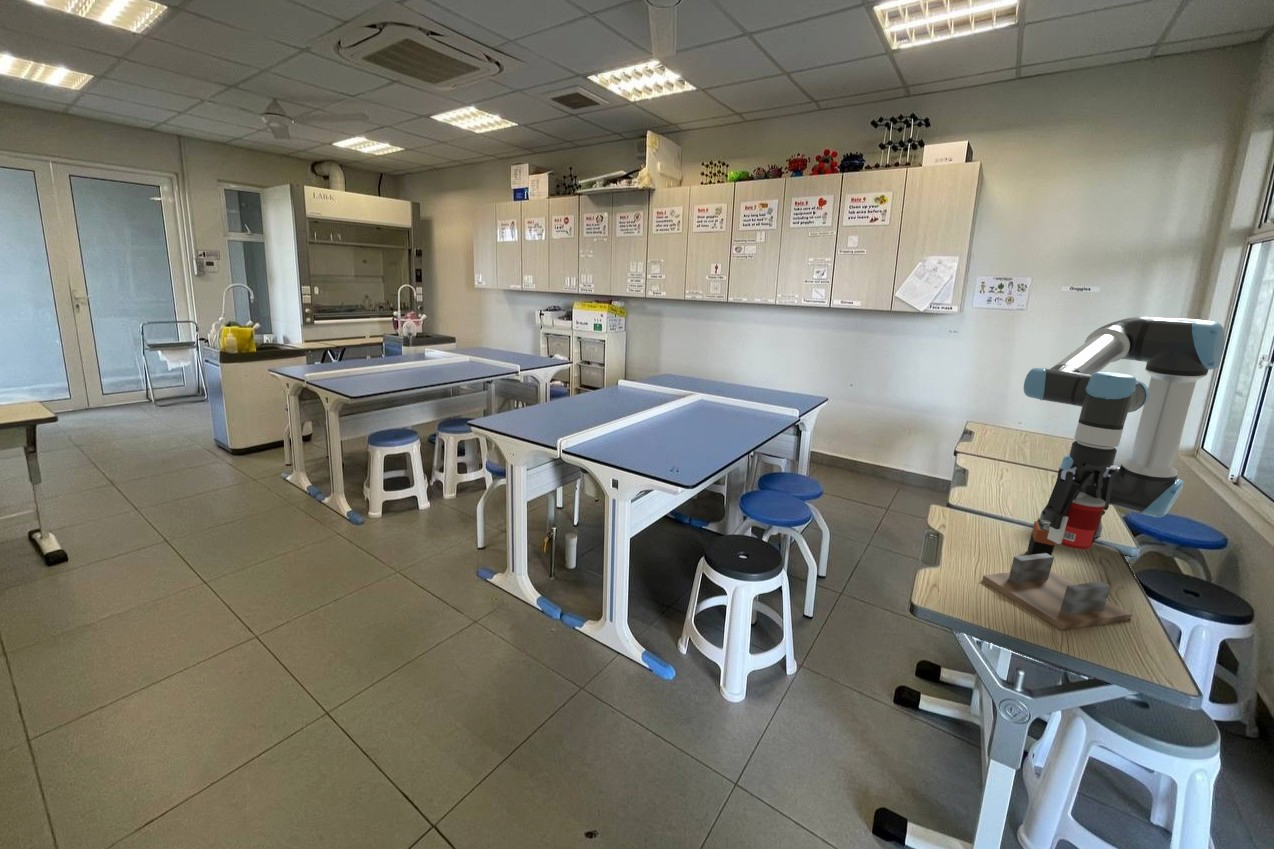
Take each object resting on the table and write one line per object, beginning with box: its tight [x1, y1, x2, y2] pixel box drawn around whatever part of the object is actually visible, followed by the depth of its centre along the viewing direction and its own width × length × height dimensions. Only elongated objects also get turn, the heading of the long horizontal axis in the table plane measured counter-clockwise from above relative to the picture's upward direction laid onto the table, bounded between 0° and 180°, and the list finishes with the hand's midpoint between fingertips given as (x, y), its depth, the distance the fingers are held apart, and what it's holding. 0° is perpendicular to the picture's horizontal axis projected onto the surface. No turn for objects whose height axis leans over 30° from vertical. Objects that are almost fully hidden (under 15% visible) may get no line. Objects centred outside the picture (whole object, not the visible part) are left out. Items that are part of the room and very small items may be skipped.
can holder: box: [981, 553, 1133, 631], centre depth 126 cm, size 20×20×8 cm
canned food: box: [1060, 492, 1105, 550], centre depth 121 cm, size 8×8×11 cm
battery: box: [1027, 520, 1056, 556], centre depth 145 cm, size 4×7×10 cm, turn 150°
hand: (1068, 539), depth 123 cm, fingers closed on canned food, 8 cm apart
